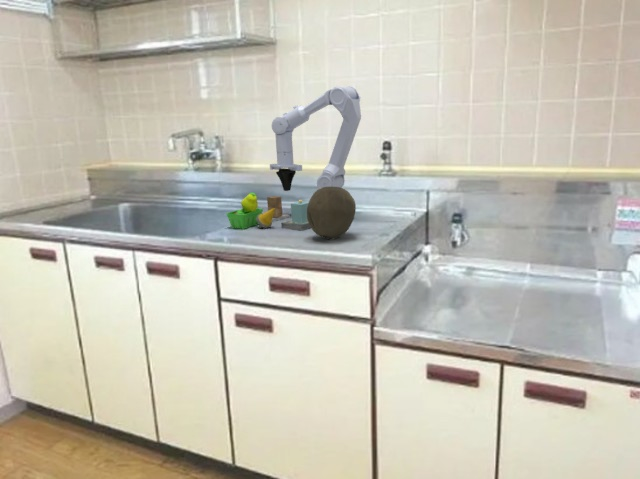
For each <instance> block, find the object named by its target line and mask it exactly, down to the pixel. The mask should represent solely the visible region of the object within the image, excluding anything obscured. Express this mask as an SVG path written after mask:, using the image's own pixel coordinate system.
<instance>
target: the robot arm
mask: <svg viewBox="0 0 640 479" xmlns="http://www.w3.org/2000/svg"><path fill="white" fill-rule="evenodd" d="M360 101H361V96H360V93H359V92H358V90H357V89H356V88H354V87H353V86H337V85H336V86H334V87H333V88H332V89H328V90H326V91H325V92H324V93H323V94H321V95H319V96H318V97H317V98H315V99H314V100H312V101H311V102H310V103H308V104H307V105H305V106H303V105H295V106H293V109H291V110H290V111H288V112H284V113H283V114H282V116H276V117H275V118H274V119H273V120H272V122H271V129H272V131H273V133H274V134H275V148H276V150H275V151H276V162H277V163H271V164H269V170H270V171H273V170H277V171H276V172H275V173H276V175H277V177H278V178H279V181H280V182H281V183H280V184H281V186H282V189H283V192H284V191H285V192H288V191H291V187H292V183H293V180H294V177H295V175H296V173H297V172H301V171H303V164H297V163H294V148H293V146H294V145H293V132H294V130H295V129H296V128H298V127H299V126H302V125H304V124H305V123H306V122H308V121H309V119H310V116H311V115H313V114H314V113H317V112H319V111H320V110H322V109H323V108H326V107H327V106H331V105H332V106H333V107H334V108H335V109H336V110H337V111H338V112H339V113H340V115H341V117H342V122H341V125H340V127H339V132H338V134H337V137H336V140H335V143H334V146H333V149H332V153H331V155H330V158H329V161H328V164H327V165H326V166H325V167H324V168H323V170H322V173H321V174H320V175H319V176H318V178H317V180H316V187H317V190H318V189H321V188H323V187H340V188H343V187H344V185H345V181H346V180H345V174H346V169H345V165H346V162H347V160H348V156H349V154H350V151H351V148H352V145H353V142H354V139H355V137H356V133H357V130H358V128H359V126H360V122H361V120H362V114H361V104H360Z"/></svg>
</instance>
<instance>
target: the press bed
mask: <svg viewBox="0 0 640 479" xmlns="http://www.w3.org/2000/svg"><path fill="white" fill-rule="evenodd" d="M280 224H281V228H282V229H286V230H287V229H288V230H294V231H305V230H309V229H312V228H311V227H310V225H309V223H308V222H305V223H296V222H292V220H287V221H285V222H281V223H280Z"/></svg>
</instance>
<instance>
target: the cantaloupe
mask: <svg viewBox="0 0 640 479" xmlns="http://www.w3.org/2000/svg"><path fill="white" fill-rule="evenodd" d="M308 202H309V204H308V207H307V219H308V223H309V225H310V227H311V228H310V229H311V230H312V231H313V232H314V234H316V235H317V236H319V237H321V238H323V239H327V240H335V239H338V238H340V237H341V236H343V235H345V233H347V231H349V229H350V227H351V226H352V224H353V221H354V219H355V215H356V211H357V210H356V209H357V208H356V205H357V204H356V201H355V198H354V197H353V196H352V195H351V193H350V192H349V190H347V189H345V188H343V187H342V188H340V187H323V188H321V189H318V188H317V189H316V191H314V193H313V194H312V195H311V197H310V198H309V201H308Z"/></svg>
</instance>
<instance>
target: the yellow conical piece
mask: <svg viewBox="0 0 640 479" xmlns="http://www.w3.org/2000/svg"><path fill="white" fill-rule="evenodd" d="M274 211H275V208H273V209H271V210H269V211H268V210H266V211H265V212H262V214H259V215H258V216H257V218H256V219H257V222H258V223H259V224H258V228H259V229H262V228H265V229H269V228H270V227H271V226H272V225H273V224H272V223H273V221H272V218H273V215H274Z"/></svg>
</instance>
